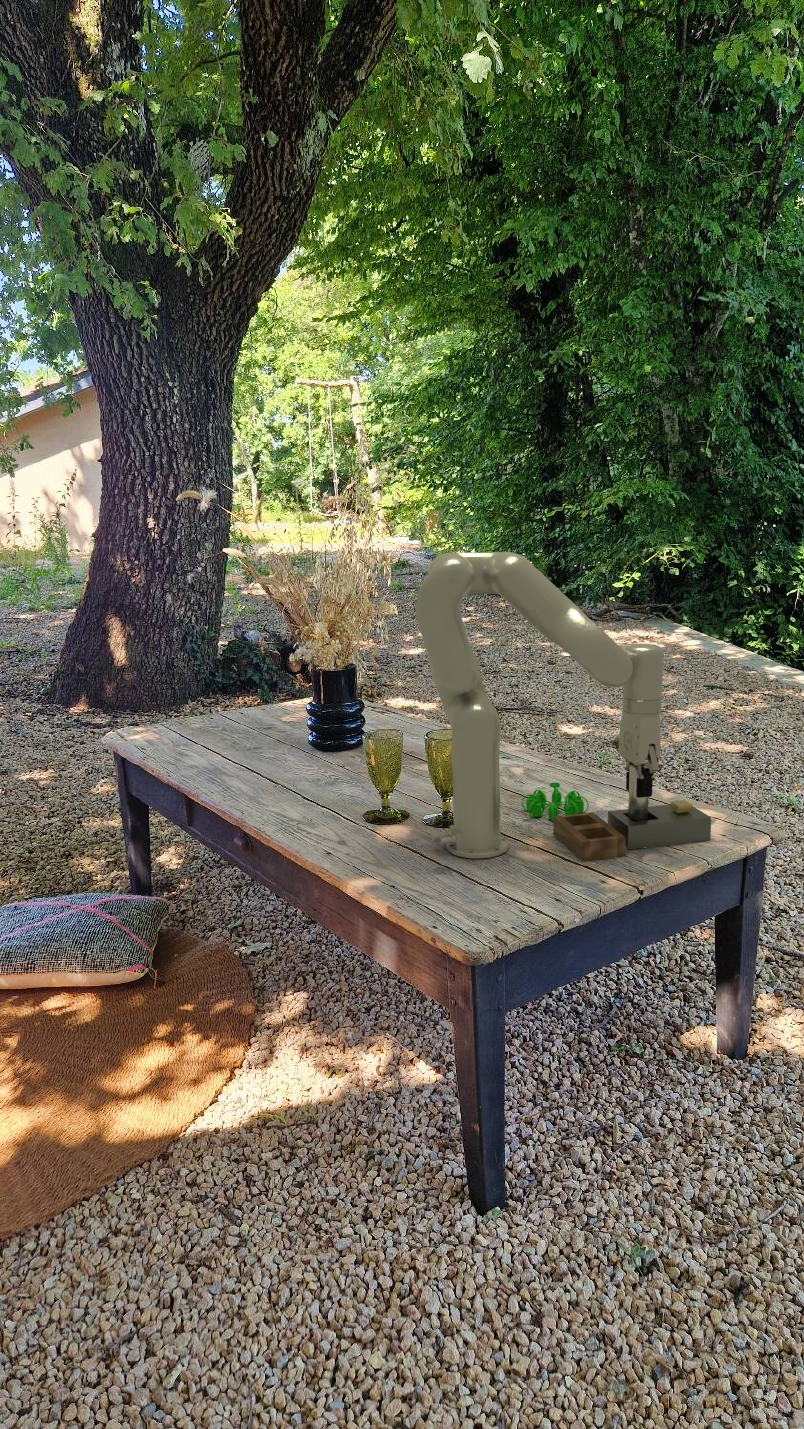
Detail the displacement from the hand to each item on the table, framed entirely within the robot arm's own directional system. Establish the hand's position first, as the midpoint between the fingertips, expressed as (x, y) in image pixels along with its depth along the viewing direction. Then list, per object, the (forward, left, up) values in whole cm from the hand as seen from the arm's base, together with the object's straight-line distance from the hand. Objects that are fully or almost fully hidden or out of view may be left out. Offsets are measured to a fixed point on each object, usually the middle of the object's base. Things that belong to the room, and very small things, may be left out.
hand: (638, 792), depth 185 cm
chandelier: (-10, +22, -11) cm, 26 cm away
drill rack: (-11, 0, -10) cm, 15 cm away
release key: (+9, 0, -10) cm, 14 cm away
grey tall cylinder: (0, 0, -6) cm, 6 cm away
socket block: (+4, 0, -10) cm, 11 cm away
